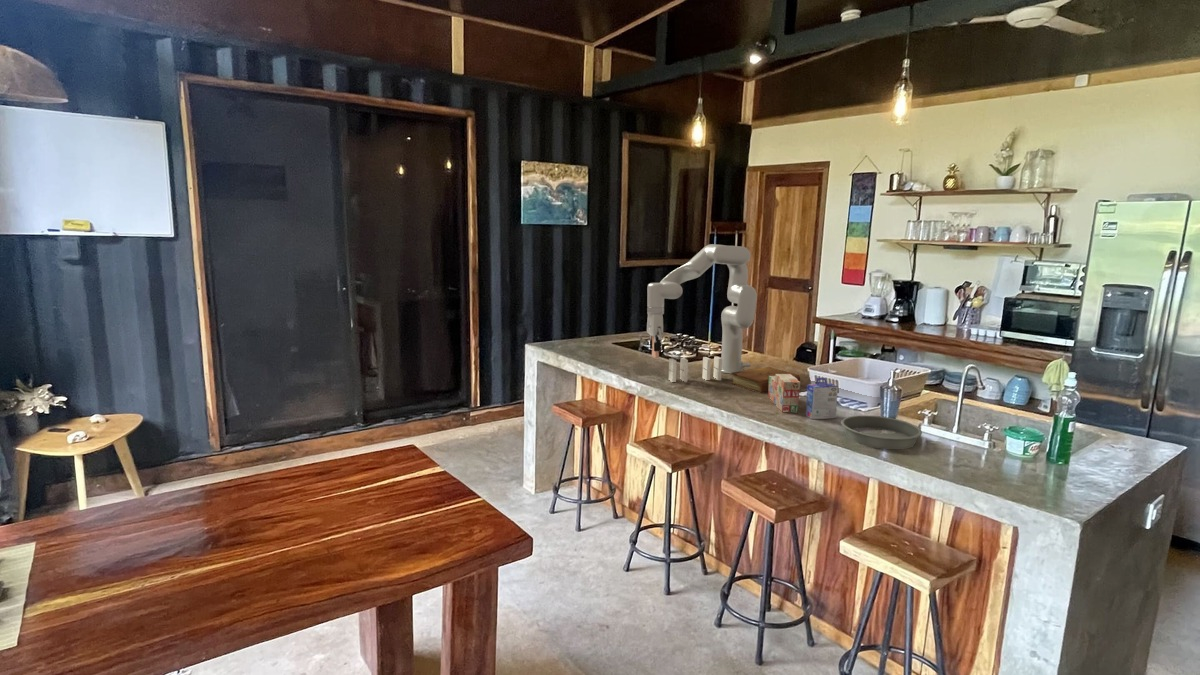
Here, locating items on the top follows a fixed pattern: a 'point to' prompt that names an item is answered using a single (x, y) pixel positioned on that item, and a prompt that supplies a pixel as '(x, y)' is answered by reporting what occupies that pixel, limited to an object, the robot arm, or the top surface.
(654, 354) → the terracotta domino
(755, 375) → the diary
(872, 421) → the cake pan
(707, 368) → the domino
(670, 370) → the head domino
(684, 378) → the domino
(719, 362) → the end domino
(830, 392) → the ink cartridge box
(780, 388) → the stack of blocks
